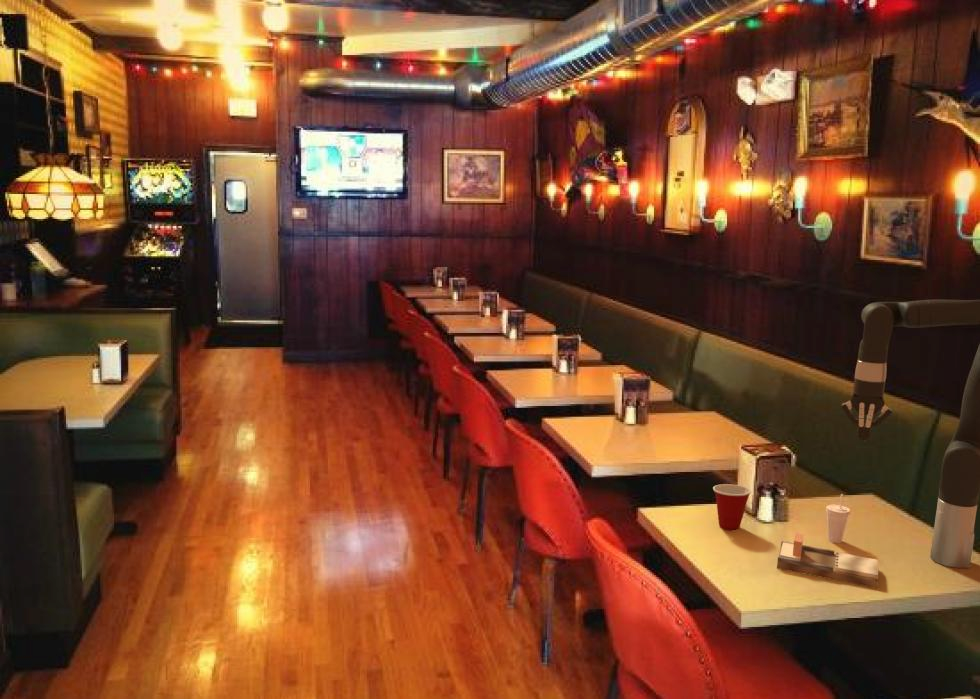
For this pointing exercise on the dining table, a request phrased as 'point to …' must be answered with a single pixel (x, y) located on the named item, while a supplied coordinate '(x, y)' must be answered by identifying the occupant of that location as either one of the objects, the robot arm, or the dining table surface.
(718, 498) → the plastic cup
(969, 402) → the robot arm
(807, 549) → the mandoline slicer
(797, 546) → the white orange block
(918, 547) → the dining table surface
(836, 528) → the smoothie
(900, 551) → the dining table surface
